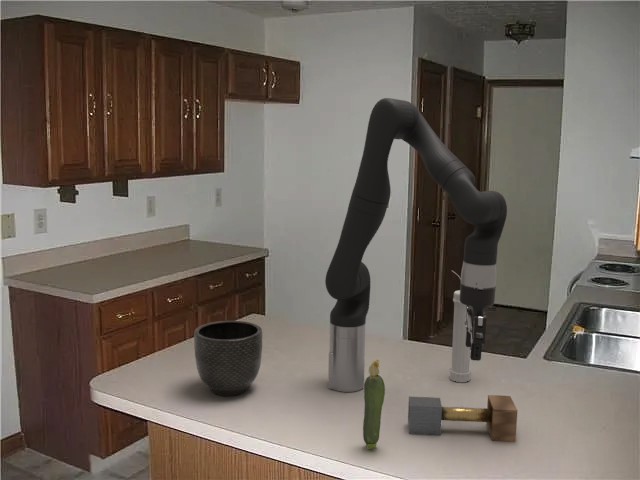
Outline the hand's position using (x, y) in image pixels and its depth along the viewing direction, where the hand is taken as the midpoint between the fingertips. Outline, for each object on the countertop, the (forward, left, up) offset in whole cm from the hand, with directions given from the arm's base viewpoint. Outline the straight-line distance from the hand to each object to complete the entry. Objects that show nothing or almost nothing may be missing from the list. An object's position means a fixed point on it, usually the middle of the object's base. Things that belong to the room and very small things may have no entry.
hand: (472, 353), depth 151 cm
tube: (-1, -2, -16) cm, 16 cm away
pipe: (+1, +30, -18) cm, 35 cm away
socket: (+7, -2, -18) cm, 19 cm away
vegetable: (-22, -12, -18) cm, 31 cm away
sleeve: (-10, -2, -18) cm, 21 cm away
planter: (-59, +16, -18) cm, 64 cm away
